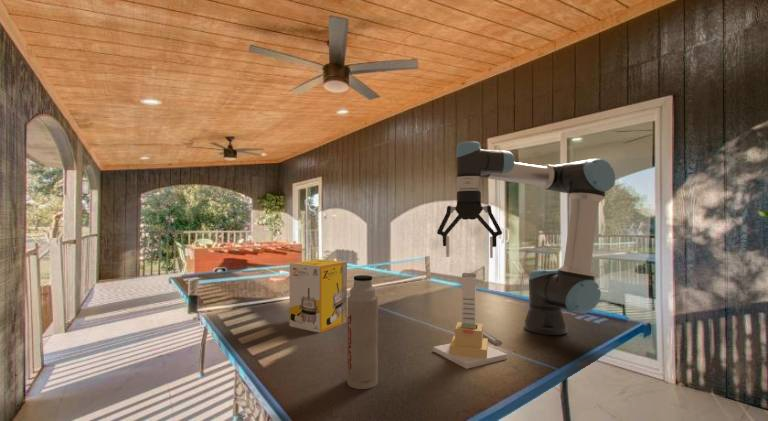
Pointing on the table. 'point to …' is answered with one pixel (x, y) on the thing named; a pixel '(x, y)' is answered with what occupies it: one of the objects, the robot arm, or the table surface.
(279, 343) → the table surface
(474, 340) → the stand
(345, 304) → the packaging box
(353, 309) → the thermos bottle
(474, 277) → the column
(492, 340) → the adjustable wrench
